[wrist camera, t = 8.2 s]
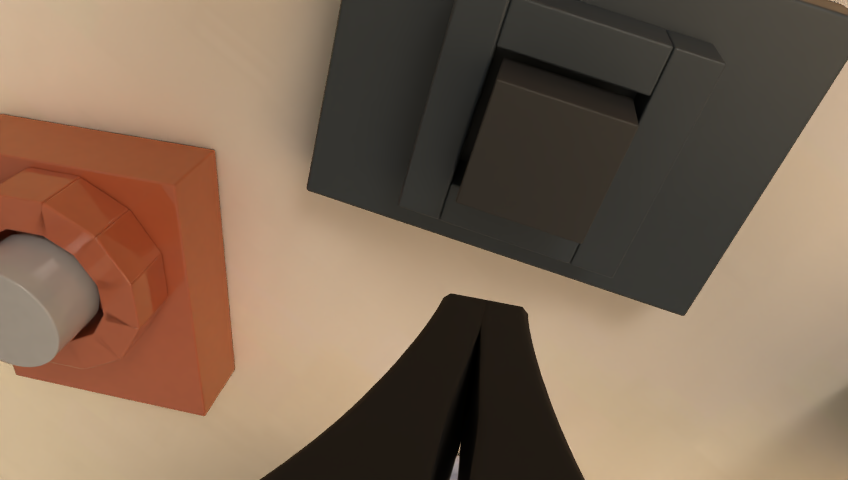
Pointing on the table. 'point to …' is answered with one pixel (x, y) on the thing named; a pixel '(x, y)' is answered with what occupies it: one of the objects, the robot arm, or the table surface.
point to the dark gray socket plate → (599, 66)
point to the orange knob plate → (128, 257)
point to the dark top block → (547, 150)
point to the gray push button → (41, 299)
